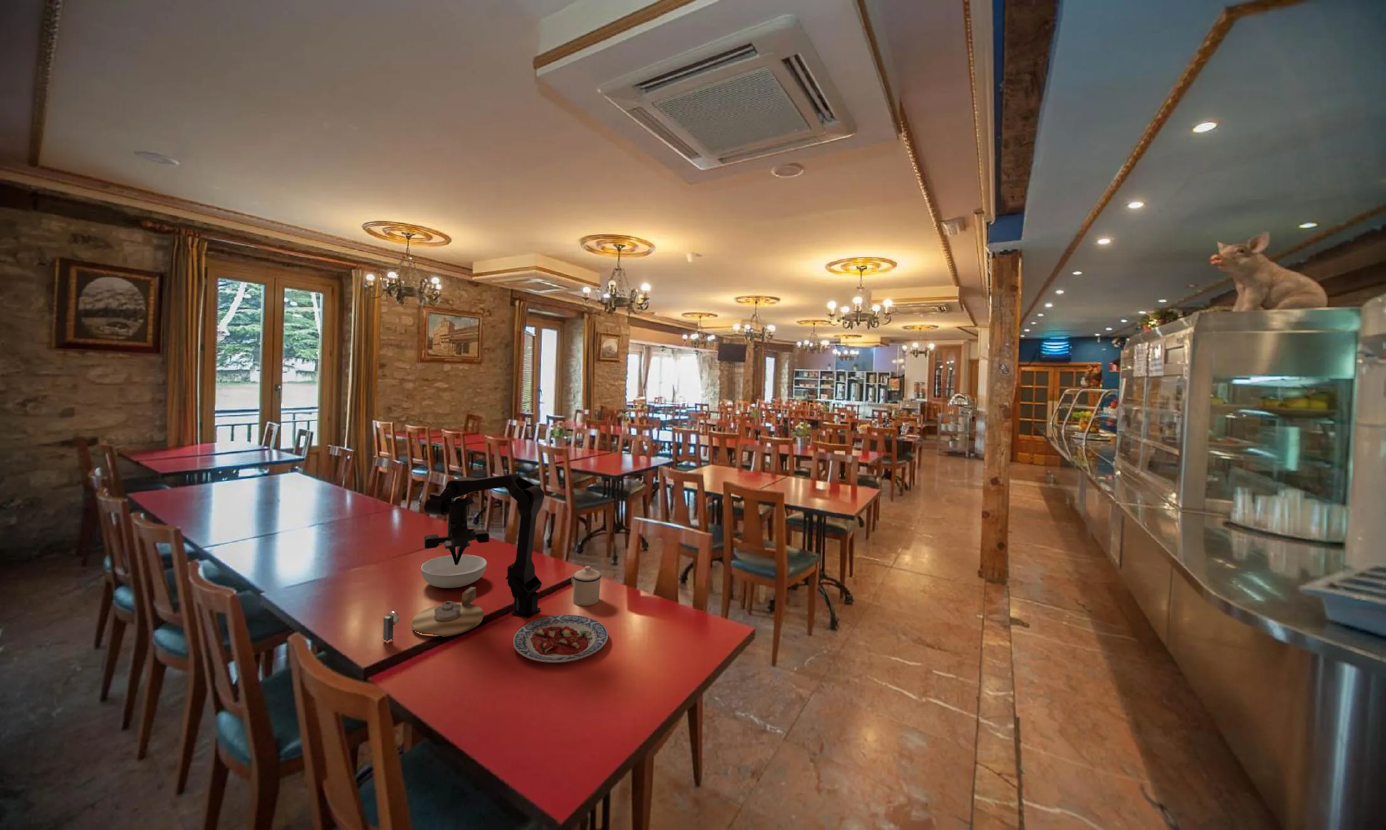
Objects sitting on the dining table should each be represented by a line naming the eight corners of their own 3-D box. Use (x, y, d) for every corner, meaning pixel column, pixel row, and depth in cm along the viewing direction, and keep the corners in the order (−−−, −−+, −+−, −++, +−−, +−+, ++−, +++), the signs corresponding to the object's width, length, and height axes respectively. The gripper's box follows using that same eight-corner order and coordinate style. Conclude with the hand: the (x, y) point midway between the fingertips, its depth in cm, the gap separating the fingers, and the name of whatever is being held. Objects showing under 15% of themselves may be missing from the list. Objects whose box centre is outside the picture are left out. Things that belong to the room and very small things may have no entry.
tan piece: (486, 629, 144) (487, 613, 144) (410, 642, 135) (411, 624, 135) (479, 600, 163) (480, 585, 162) (412, 610, 154) (413, 594, 153)
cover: (461, 619, 147) (461, 606, 147) (434, 623, 144) (434, 609, 144) (459, 609, 153) (460, 596, 153) (434, 613, 150) (434, 600, 150)
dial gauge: (398, 640, 137) (399, 612, 137) (390, 644, 135) (391, 616, 134) (388, 637, 138) (389, 609, 138) (380, 641, 136) (381, 613, 135)
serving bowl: (469, 597, 166) (470, 577, 165) (407, 593, 166) (407, 572, 166) (495, 574, 187) (496, 555, 186) (440, 570, 187) (440, 552, 187)
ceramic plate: (509, 674, 125) (509, 662, 125) (515, 625, 150) (516, 615, 150) (612, 664, 132) (613, 653, 132) (602, 618, 157) (603, 609, 157)
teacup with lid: (605, 600, 169) (607, 566, 169) (584, 609, 162) (586, 574, 161) (581, 590, 177) (583, 557, 176) (561, 598, 169) (562, 564, 169)
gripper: (426, 526, 149) (425, 578, 150) (493, 521, 159) (491, 569, 160) (424, 517, 159) (422, 565, 160) (487, 512, 168) (485, 557, 169)
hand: (456, 564), depth 162 cm, fingers closed
